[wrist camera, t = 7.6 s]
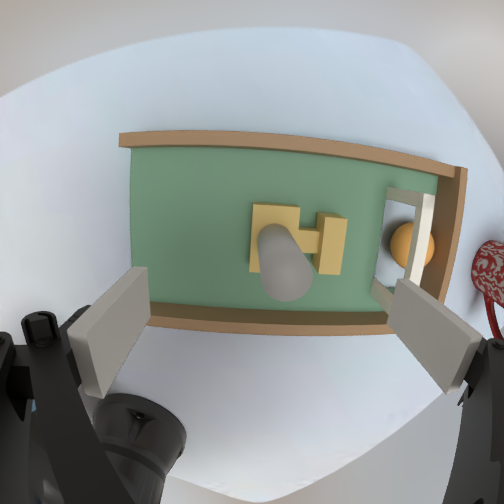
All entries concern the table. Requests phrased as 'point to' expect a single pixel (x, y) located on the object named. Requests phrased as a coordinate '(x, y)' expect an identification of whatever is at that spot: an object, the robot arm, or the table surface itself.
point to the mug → (490, 279)
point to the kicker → (293, 248)
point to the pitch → (310, 202)
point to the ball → (407, 245)
